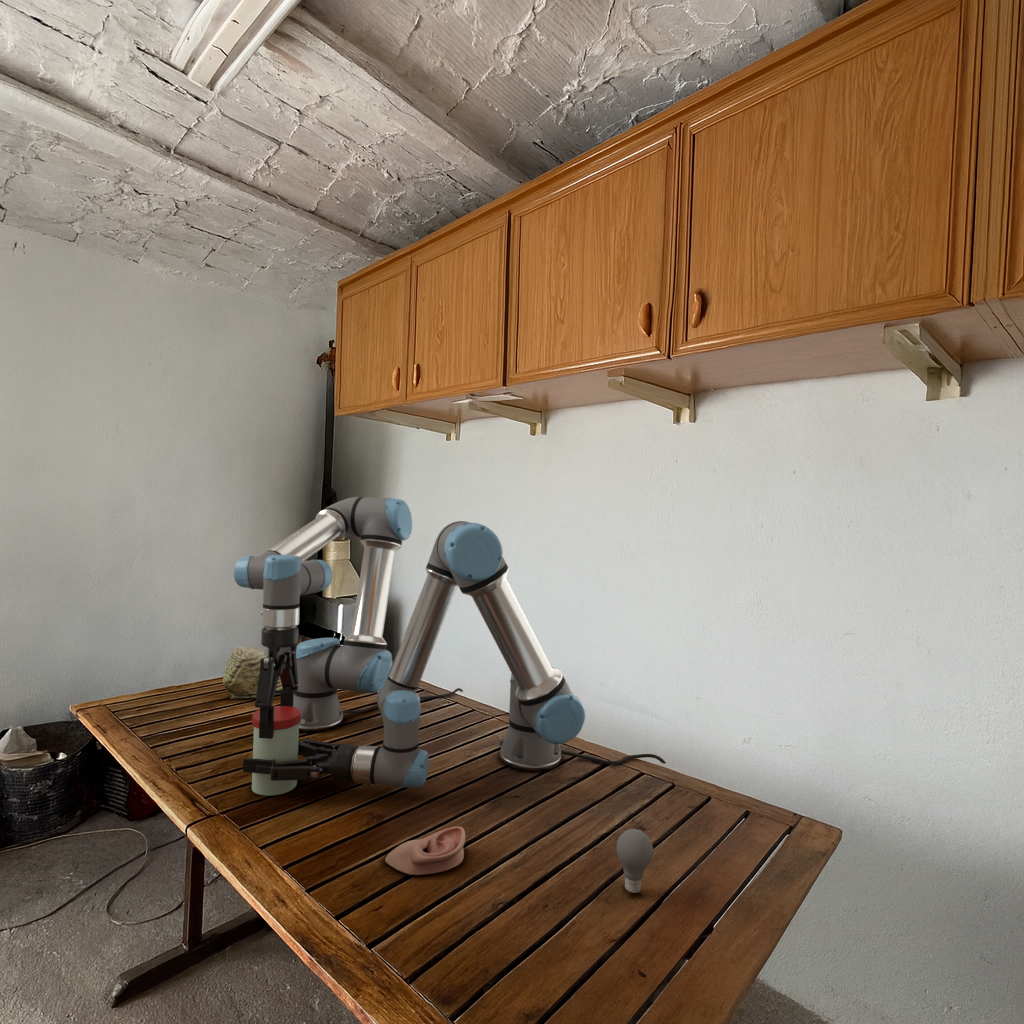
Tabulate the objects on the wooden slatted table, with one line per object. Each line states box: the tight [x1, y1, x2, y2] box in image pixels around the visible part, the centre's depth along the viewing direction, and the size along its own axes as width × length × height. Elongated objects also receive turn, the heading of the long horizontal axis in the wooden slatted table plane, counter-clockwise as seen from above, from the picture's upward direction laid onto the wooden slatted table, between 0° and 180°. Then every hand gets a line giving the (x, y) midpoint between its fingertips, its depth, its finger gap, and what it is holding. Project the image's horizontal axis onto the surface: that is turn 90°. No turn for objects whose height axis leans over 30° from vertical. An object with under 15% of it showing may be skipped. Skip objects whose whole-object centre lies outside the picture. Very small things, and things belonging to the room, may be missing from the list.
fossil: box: [222, 646, 285, 699], centre depth 198 cm, size 9×18×15 cm, turn 132°
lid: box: [251, 705, 301, 730], centre depth 138 cm, size 10×10×2 cm
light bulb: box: [615, 828, 654, 894], centre depth 106 cm, size 6×6×10 cm
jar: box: [251, 724, 300, 797], centre depth 138 cm, size 9×9×16 cm
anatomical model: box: [384, 826, 466, 876], centre depth 113 cm, size 13×4×12 cm
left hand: (276, 728), depth 138 cm, fingers closed on lid, 10 cm apart
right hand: (255, 755), depth 138 cm, fingers closed on jar, 9 cm apart
